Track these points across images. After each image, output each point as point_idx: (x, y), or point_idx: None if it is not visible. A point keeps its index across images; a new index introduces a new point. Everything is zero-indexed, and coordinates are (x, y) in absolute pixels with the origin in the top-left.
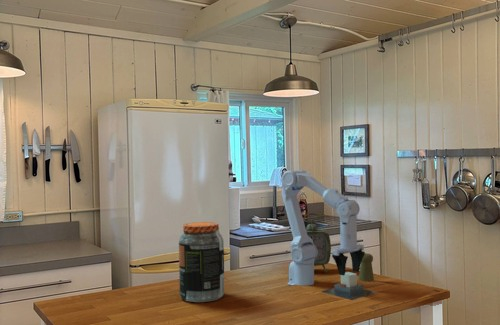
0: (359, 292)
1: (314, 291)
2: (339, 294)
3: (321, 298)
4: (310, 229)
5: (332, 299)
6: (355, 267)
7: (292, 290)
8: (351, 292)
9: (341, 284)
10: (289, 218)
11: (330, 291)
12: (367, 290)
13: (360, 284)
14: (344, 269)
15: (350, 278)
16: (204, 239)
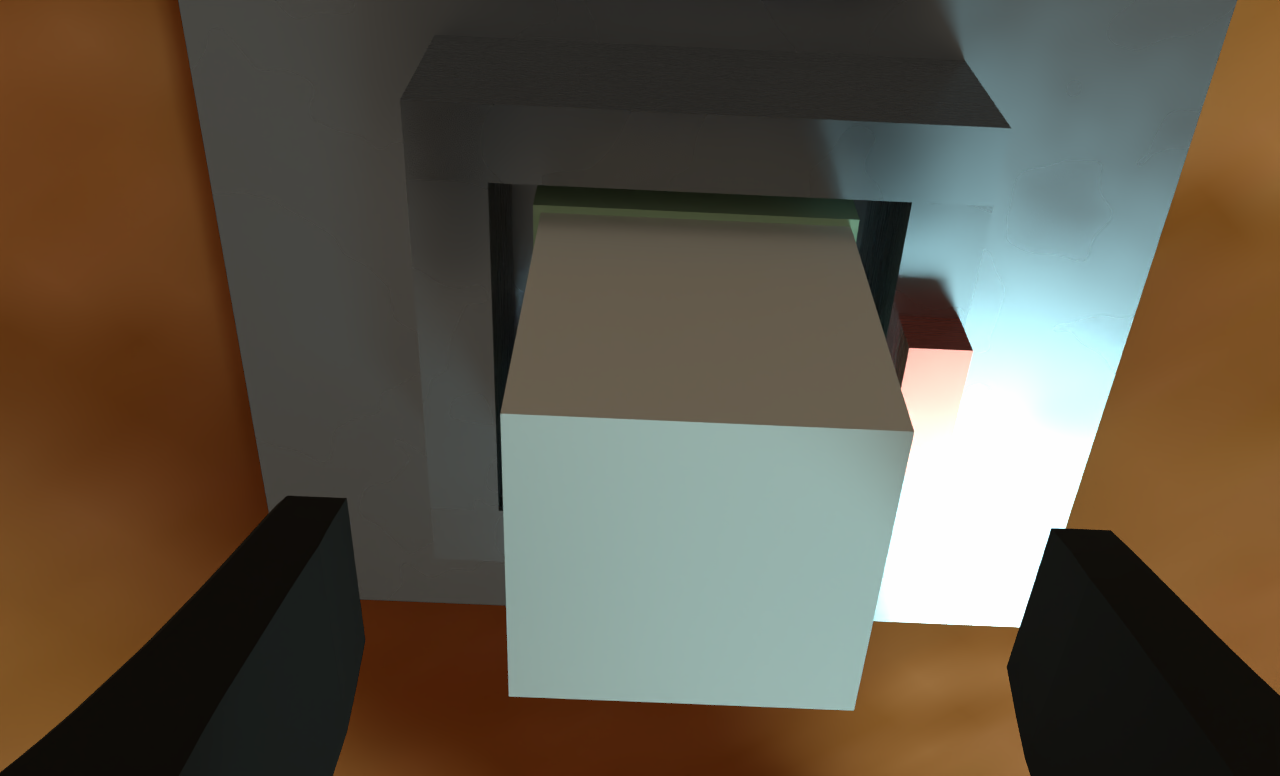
0: (599, 49)
1: (926, 724)
2: (1009, 298)
3: (1265, 446)
4: None
5: (1215, 278)
6: (313, 674)
7: None
8: (931, 87)
9: (948, 435)
10: None
11: (921, 526)
12: (227, 58)
13: (413, 197)
14: (1218, 659)
15: (845, 369)
16: None
